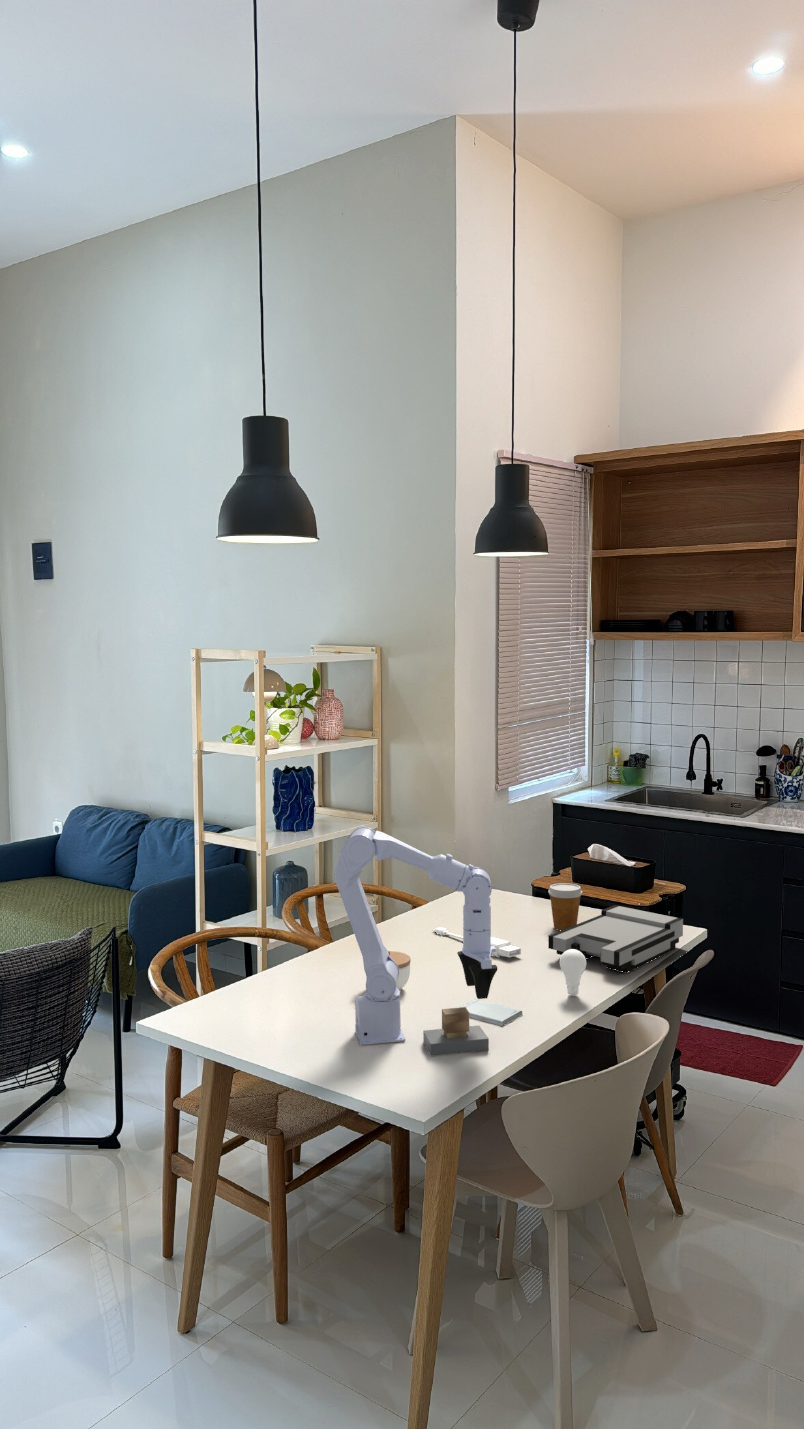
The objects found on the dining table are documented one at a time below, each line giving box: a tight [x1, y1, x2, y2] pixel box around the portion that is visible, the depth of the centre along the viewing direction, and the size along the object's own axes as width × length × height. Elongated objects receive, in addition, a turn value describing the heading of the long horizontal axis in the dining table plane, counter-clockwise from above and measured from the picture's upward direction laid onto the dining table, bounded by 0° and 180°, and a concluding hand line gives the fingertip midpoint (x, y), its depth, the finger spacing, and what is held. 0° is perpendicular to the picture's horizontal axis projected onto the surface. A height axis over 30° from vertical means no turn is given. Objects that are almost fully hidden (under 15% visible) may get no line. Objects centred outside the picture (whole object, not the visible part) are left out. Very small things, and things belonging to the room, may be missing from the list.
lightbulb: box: [559, 949, 587, 997], centre depth 234 cm, size 6×6×11 cm
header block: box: [422, 1025, 490, 1057], centre depth 207 cm, size 12×7×2 cm, turn 101°
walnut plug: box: [441, 1007, 470, 1038], centre depth 207 cm, size 5×3×7 cm, turn 101°
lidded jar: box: [388, 950, 411, 992], centre depth 240 cm, size 11×11×9 cm
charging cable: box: [432, 926, 522, 958], centre depth 274 cm, size 5×32×3 cm, turn 38°
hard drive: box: [458, 998, 523, 1027], centre depth 225 cm, size 2×8×12 cm
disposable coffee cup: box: [548, 882, 583, 931], centre depth 287 cm, size 10×10×12 cm
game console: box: [547, 904, 684, 974], centre depth 264 cm, size 21×32×8 cm, turn 137°
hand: (476, 991), depth 211 cm, fingers open, 7 cm apart
